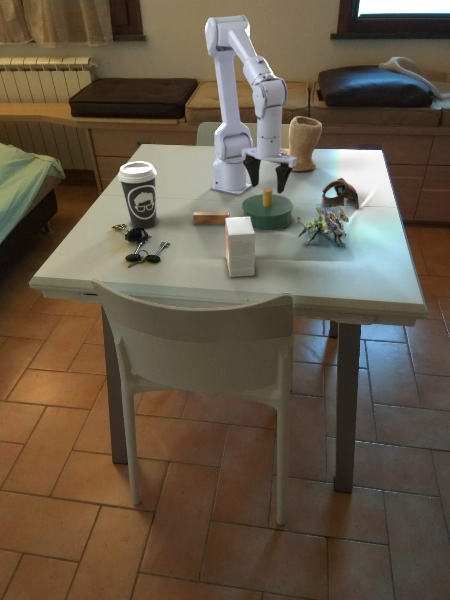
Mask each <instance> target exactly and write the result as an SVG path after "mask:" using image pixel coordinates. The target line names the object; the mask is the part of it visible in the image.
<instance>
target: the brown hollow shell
mask: <svg viewBox="0 0 450 600" xmlns="http://www.w3.org/2000/svg"><path fill="white" fill-rule="evenodd" d="M332 188H333V190H334V191H335V193H336V196H333V197H329V196H326V194H327V192H328V191H330V190H331V189H332ZM321 191H322V195H321V205H322V207H326V208H332V207H333V208H334V207H339V206H341V207H345V199H346V200H347V201H350V202H353V203H355V205H356V208H357V210H359V209H360V199H359V195H358V192H357V190H356V188H355V186H353V185H351V184H350V183H348V182H347V181H346V180H345V179H344V178H343V177H339V178H337V179H336V180H333V181H331V182H330V183H327V184H326V185H325V186H324V188H323V189H322V190H321Z"/></svg>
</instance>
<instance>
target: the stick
mask: <svg viewBox="0 0 450 600" xmlns="http://www.w3.org/2000/svg"><path fill="white" fill-rule="evenodd" d="M225 218H230V212H229V211H194V213H193V224H195V225H196V224H198V225H225Z"/></svg>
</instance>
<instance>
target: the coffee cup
mask: <svg viewBox="0 0 450 600" xmlns="http://www.w3.org/2000/svg"><path fill="white" fill-rule="evenodd" d="M157 176H158V173H157V171H156V169H155V167H154V166H153V164H151V162H147V161H133V162H128V163H125V164H123V165H121V166H120V168H119V171H118V174H117V179H118V181H120V184H121V187H122V191H123V195H124V199H125V202H126V207H127V211H128V215H129V219H130V223H131V226H132V227H134V228H135V229H148V228H149V229H150V228H151V227H154V226H155V225H156V224H157V223H158V222H157V221H158V218H157V217H158V215H157V194H156V177H157ZM139 227H140V228H139Z"/></svg>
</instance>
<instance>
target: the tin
mask: <svg viewBox="0 0 450 600" xmlns="http://www.w3.org/2000/svg"><path fill="white" fill-rule="evenodd" d="M242 212H243V213H242V214H243V215H242V217H250V218H251V223H252V226H253V229H254V230H258V231H275V230H278V229H283V228H284V227H287V226H288V225H289V224H290V223H291V221H292V211H291V212H289V213H288V214H286V215H283V216H280V217H274V218H261V217H255V216H252V215H249V214H247V213H246V212H245V211H244V210H243V209H242Z"/></svg>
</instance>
